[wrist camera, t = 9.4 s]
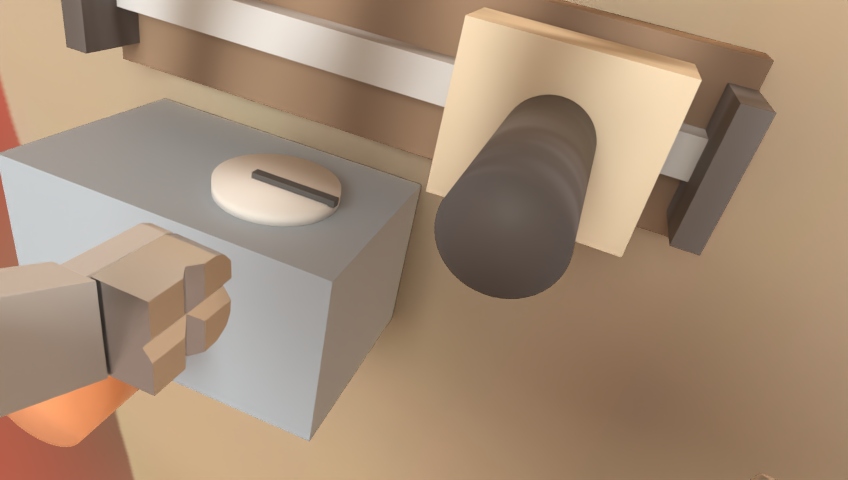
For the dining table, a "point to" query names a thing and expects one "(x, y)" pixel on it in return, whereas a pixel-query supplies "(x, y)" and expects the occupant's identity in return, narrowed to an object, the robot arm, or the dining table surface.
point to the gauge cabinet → (233, 242)
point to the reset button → (73, 412)
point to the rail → (430, 76)
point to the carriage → (547, 148)
